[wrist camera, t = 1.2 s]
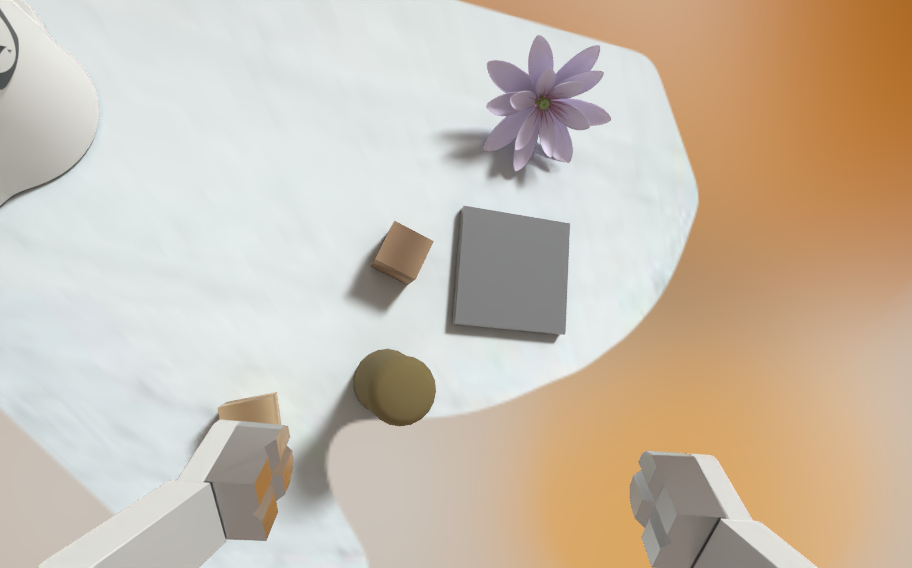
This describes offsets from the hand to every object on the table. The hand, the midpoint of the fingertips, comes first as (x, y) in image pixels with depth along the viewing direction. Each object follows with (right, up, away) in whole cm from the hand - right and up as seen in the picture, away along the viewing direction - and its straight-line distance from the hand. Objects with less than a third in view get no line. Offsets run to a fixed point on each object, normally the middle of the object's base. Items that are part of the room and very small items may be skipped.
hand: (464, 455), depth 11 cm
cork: (-7, -5, +33) cm, 34 cm away
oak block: (-18, -8, +30) cm, 36 cm away
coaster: (+6, +5, +38) cm, 39 cm away
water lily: (+7, +21, +41) cm, 46 cm away
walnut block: (-6, +7, +35) cm, 36 cm away
